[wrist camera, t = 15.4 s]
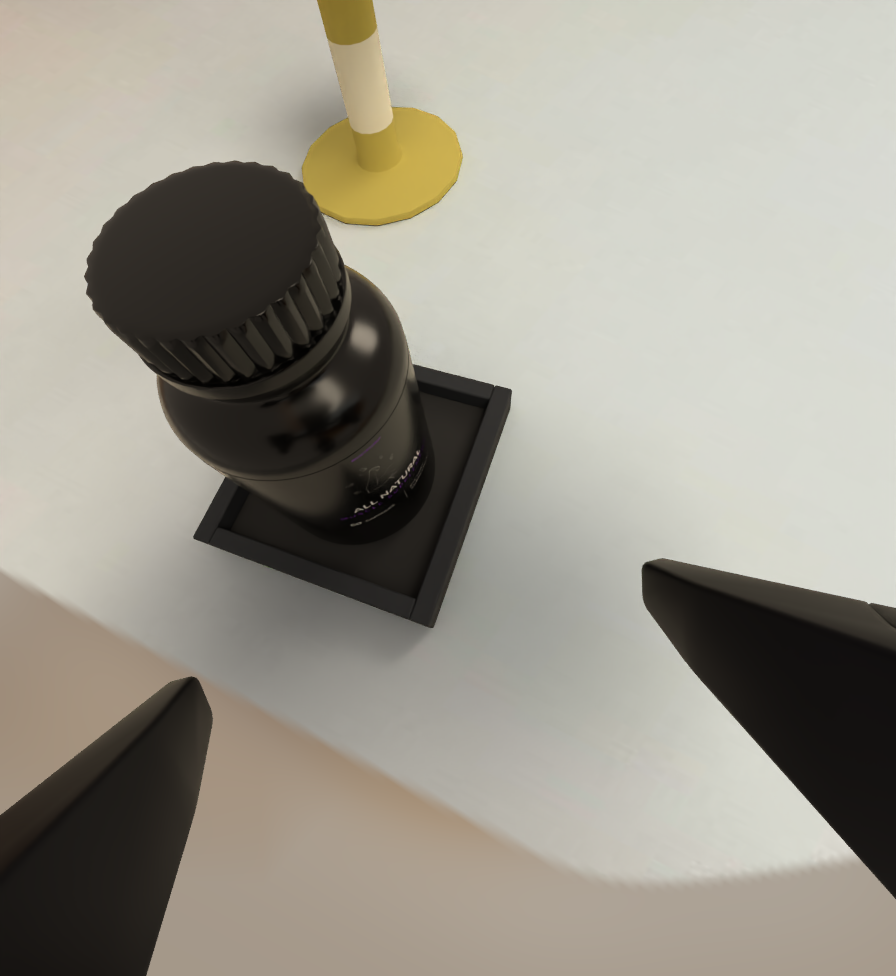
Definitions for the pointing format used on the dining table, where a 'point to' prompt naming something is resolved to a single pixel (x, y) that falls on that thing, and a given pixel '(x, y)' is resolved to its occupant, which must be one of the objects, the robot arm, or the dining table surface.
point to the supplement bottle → (268, 348)
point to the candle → (375, 134)
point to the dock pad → (410, 551)
